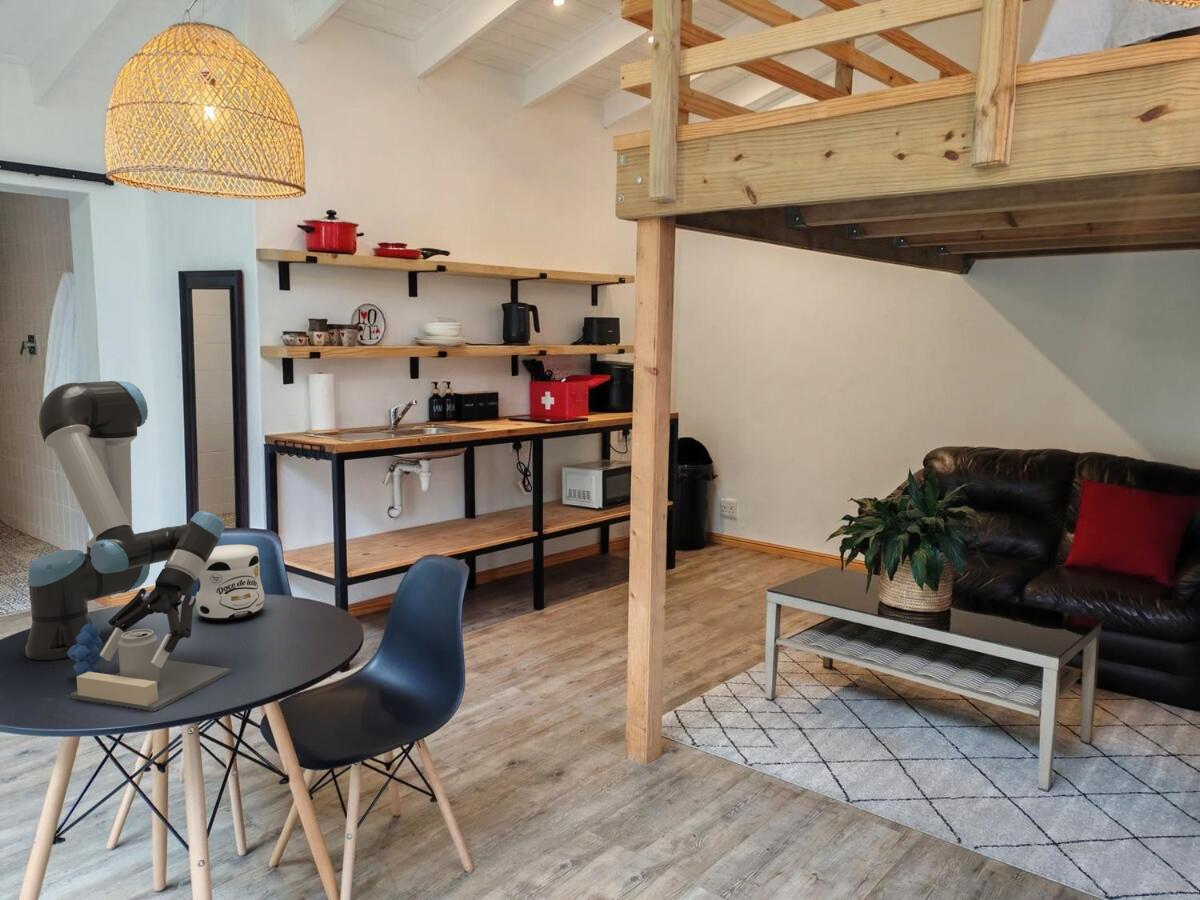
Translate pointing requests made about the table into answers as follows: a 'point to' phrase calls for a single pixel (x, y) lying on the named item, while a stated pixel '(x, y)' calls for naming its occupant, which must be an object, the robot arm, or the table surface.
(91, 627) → the grapes
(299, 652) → the table surface
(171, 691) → the stop plate
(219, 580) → the milk container
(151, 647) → the can
